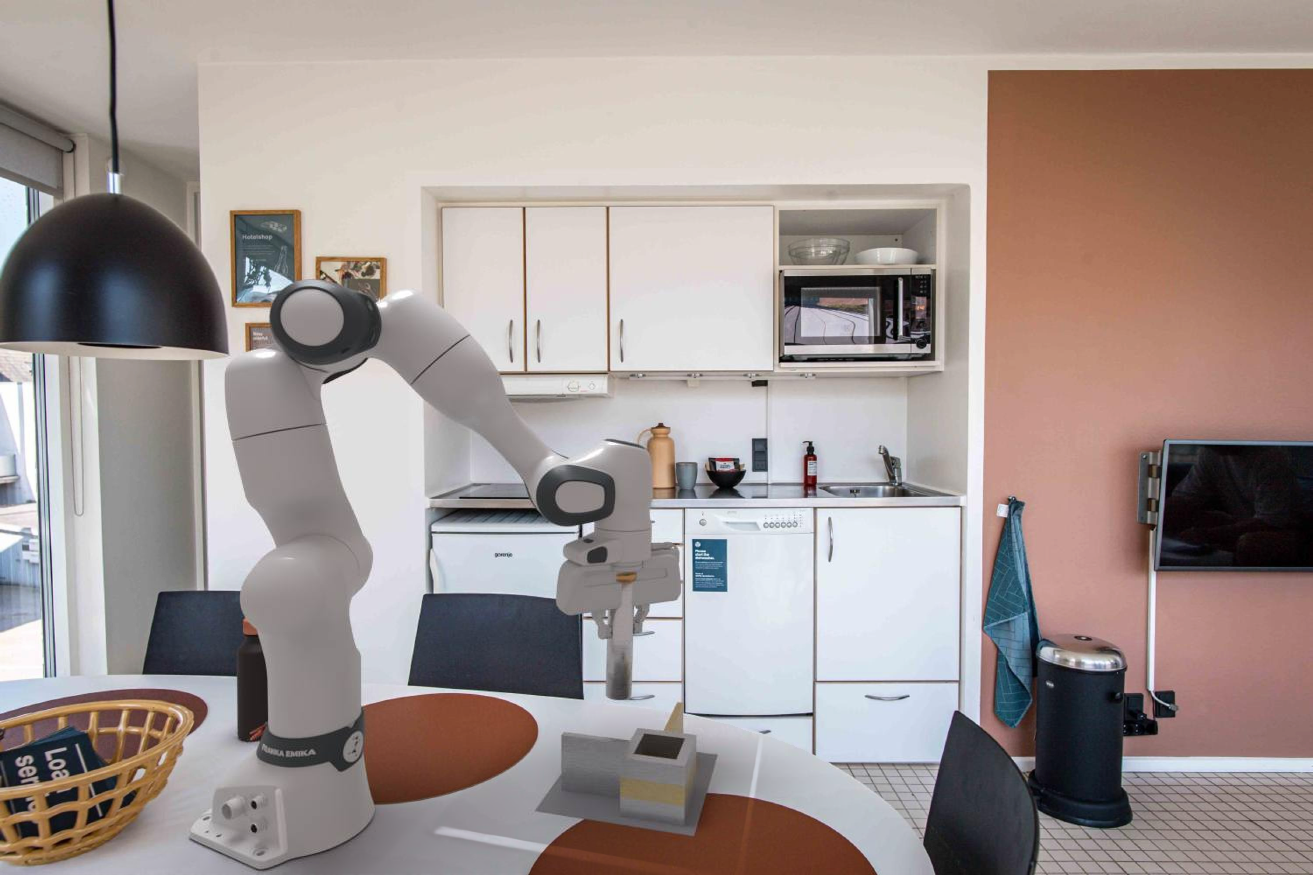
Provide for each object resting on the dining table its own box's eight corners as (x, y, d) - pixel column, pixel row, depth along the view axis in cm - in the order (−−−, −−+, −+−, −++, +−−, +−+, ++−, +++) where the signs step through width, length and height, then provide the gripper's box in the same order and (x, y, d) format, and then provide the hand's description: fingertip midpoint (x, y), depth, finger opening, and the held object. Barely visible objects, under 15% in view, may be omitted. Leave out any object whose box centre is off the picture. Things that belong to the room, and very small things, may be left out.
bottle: (246, 725, 115) (245, 613, 114) (288, 721, 116) (288, 610, 116) (230, 743, 108) (229, 625, 108) (275, 739, 110) (275, 622, 109)
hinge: (550, 805, 90) (550, 748, 89) (594, 740, 108) (595, 692, 108) (684, 826, 85) (684, 766, 85) (706, 754, 103) (707, 705, 103)
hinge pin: (599, 698, 98) (602, 573, 98) (608, 686, 102) (612, 567, 102) (628, 702, 97) (632, 575, 97) (636, 690, 101) (640, 569, 101)
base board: (534, 819, 88) (534, 810, 88) (587, 744, 109) (587, 737, 109) (694, 844, 83) (694, 835, 83) (717, 761, 104) (717, 754, 104)
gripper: (668, 537, 107) (666, 620, 108) (553, 546, 97) (550, 638, 97) (690, 544, 102) (687, 631, 102) (570, 554, 91) (567, 652, 92)
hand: (620, 635), depth 100 cm, fingers closed on hinge pin, 4 cm apart
